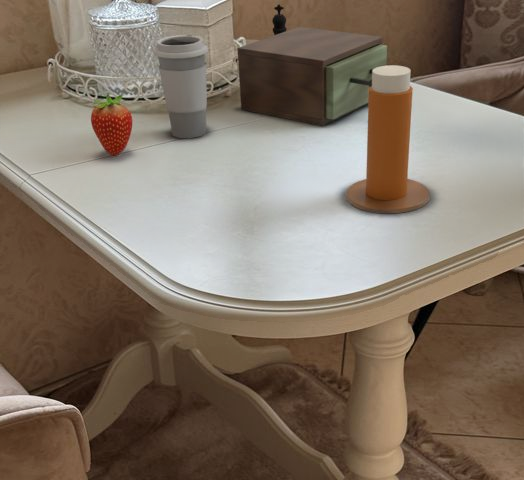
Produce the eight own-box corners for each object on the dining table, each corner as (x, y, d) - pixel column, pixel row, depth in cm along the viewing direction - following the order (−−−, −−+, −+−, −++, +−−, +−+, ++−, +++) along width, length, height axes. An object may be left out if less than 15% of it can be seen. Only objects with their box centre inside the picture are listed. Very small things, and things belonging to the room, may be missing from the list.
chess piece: (268, 64, 135) (266, 2, 129) (294, 64, 134) (293, 1, 129) (266, 71, 131) (264, 7, 126) (293, 71, 131) (291, 6, 125)
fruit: (88, 155, 102) (77, 93, 97) (120, 144, 105) (111, 83, 100) (114, 164, 99) (104, 100, 94) (146, 152, 102) (138, 90, 97)
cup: (223, 127, 109) (216, 35, 102) (201, 143, 104) (192, 48, 97) (178, 122, 111) (168, 33, 105) (154, 138, 106) (142, 45, 100)
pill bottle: (405, 184, 88) (412, 64, 81) (407, 200, 84) (414, 75, 77) (365, 184, 88) (368, 65, 81) (366, 200, 85) (369, 76, 78)
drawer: (412, 98, 112) (415, 49, 109) (361, 125, 104) (362, 72, 100) (310, 81, 122) (309, 35, 118) (255, 104, 114) (252, 55, 110)
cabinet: (380, 98, 116) (382, 36, 112) (323, 126, 107) (323, 60, 102) (300, 84, 124) (299, 26, 119) (241, 109, 115) (237, 47, 110)
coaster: (426, 180, 90) (426, 176, 90) (432, 213, 82) (432, 209, 82) (346, 181, 91) (346, 176, 91) (345, 213, 83) (346, 209, 83)
